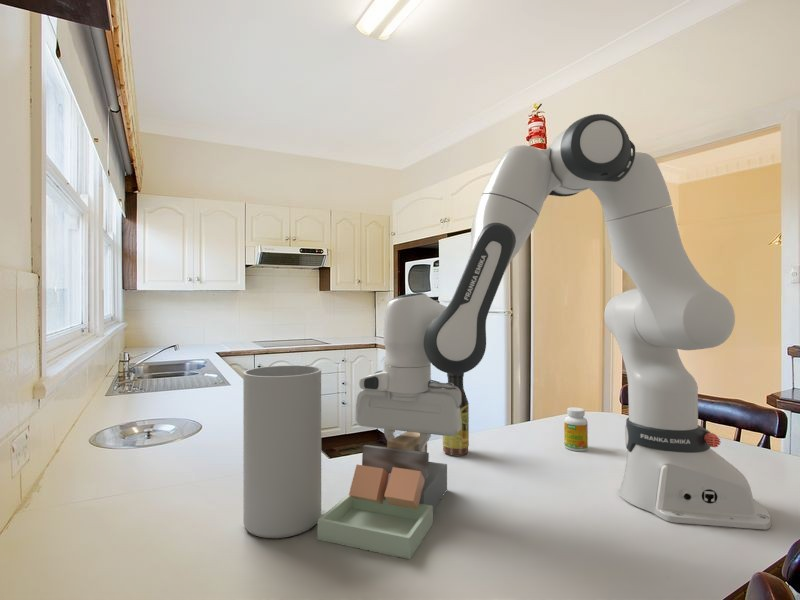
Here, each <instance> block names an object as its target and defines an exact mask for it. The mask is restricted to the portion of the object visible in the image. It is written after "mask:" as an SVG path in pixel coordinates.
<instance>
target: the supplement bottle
mask: <svg viewBox="0 0 800 600" xmlns="http://www.w3.org/2000/svg"><path fill="white" fill-rule="evenodd" d="M585 411H586V410H585V409H584V408H582V407H574V406H572V407H567V410H566V412H567V413H566V414H567V416H566V417H565V418H564V421H563V422H564V424H563V425H564V431H563V432H564V437H563V440H564V448H565V449H567V450H569V451H573V452H586V451H587V450H588V449H589V448H588V445H589V443H588V440H589V439H588V438H589V437H588V434H589V432H588V430H589V428H588V427H589V425H588V422H589V421H588V419H587V418H586V417H585V415H586V413H585Z"/></svg>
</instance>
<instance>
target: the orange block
mask: <svg viewBox="0 0 800 600" xmlns="http://www.w3.org/2000/svg"><path fill="white" fill-rule="evenodd" d="M388 476H389V473H388V472H387V471H386V470H384V469H383V468H376V467H370V466H363V465H362V464H356V465H355V470H354V474H353V477H352V481H351V485H350V489H349V492H348V494H349V495H350V496H351V497H353V498H355V499H358V500H364V501H369V502H374V503H380V504H382V503H383V499H384V494H385V490H386V485H387V480H388Z"/></svg>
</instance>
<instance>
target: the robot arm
mask: <svg viewBox="0 0 800 600" xmlns="http://www.w3.org/2000/svg"><path fill="white" fill-rule="evenodd" d="M586 190H590V191H591V192H592V193H594V195H595V196H596V197H597V199H598V200H599V203H600V206H602V207H601V208H602V213H603V218H604V222H605V226H606V231H607V236H608V239H609V240H608V241H609V243H610V248H611V252H612V256H613V260H614V262H615V264H616V265H617V266H618V267H619V268H620V269H621V270H623V271H624V272H626V274H627V275H628V276H629V278H630V279H631V280H632V282H633V284H634V285H635V287H636V288H631V289H629V290H626V291H622V292H621V293H618V294H616V295H614V296H613V297H611V299H610V300H609V301H608V302H607V303H606V306H605V309H604V312H603V313H604V314H603V318H604V323H605V326H606V327H607V329H608V330H609V332H610V333H611V334H612V335H613V337H614V339H615V340H616V342H617V345H618V348H619V350H620V353H621V357H622V361H623V363H624V369H625V370H626V378H627V389H628V390H627V394H628V395H627V396H628V397H627V398H628V417H627V418H626V419H625V421H626V422H625V427H624V428H625V429H624V430H625V432H624V433H625V435H624V436H625V437H624V438H625V447H626V449H627V453H626V462H625V468H624V472H623V473H624V474H623V478H622V481H621V485H620V488H619V490H618V492H619V493H618V494H619V495H620V496H621V497H622V499H623V500H625V502H627V503H629V504H631V505H633V506H635V507H637V508H640V509H643V510H644V511H647V512H650V513H652V514H654V515H655V516H657V517H659V518H660V519H663V520H664V521H665V522H670V523H678V524H691V525H701V526H702V525H703V526H716V527H729V528H740V529H743V528H744V529H751V530H752V529H753V530H754V529H755V530H768V529H769V528H771V525H772V519H771V515H770V514H769V511H768V510H767V508H765V506H764V505H762V504H761V503H760V502H759V500H758V501H757V500H756V499H755V498H753V492H752V490H751V487H750V484H749V481H748V480H747V478H746V476H745V475H744V474H743V473H742V472H741V471H740V470H739V469H738V468H736V466H734V465H733V464H731V463H730V462H729V461H728V460H726V459H725V458H724V457H722V456H721V454H719V453H717V452H716V451H715V450H713V449H712V448H718V447H719V446H721V438H719V437H718V436H717V435H716V434H715V433H713V432H711V431H710V430H708V429H706V428H705V427H703V426H701V425H699V391H698V390H699V389H698V388H699V387H698V383H697V381H696V379H695V377H694V376H693V375H692V373H690V371H688V369H687V368H686V367H685V366H684V364H683V361H682V359H681V356H680V353H679V350H681V351H696V350H706V349H713V348H716V347H719V346H720V345H722V344H725V342H726V341H727V340H728V339H729V338H730V336H731V335H732V334H733V333H732V332H733V331H734V327H735V324H736V315H735V311H734V307H733V306H732V303H731V301H730V300H729V299H728V298H727V297H726V295H724V294H723V293H721V292H720V291H719V290H716V289H715V288H713V287H712V286H711V285H710V284H709V283H708V282H707V281H706V280H705V279H704V278H703V277H702V276H701V275H700V273H699V272H698V270H697V269H696V267H695V265H694V264H693V262H692V261H691V260H690V258H689V256H688V254H687V252H686V250H685V248H684V246H683V243H682V239H681V235H680V231H679V228H678V224H677V219H676V216H675V212H674V209H673V208H674V207H673V203H672V199H671V195H670V193H669V189H668V186H667V183H666V181H665V178H664V176H663V174H662V171H661V169H660V166H659V165H658V163H657V161H656V160H655V158H654V157H653V156H652V155H650V154H648V153H645V152H641V151H640V152H638V151H637V152H636V146H635V144H634V142H633V141H631V139H630V137H629V134H628V133H627V131H626V129H625V127H623V125H622V124H621V123H620V122H619V121H618V120H617V119H616V118H614V117H613V116H610V115H609V114H604V113H603V114H602V113H597V114H595V113H594V114H589V115H585V116H584V117H581V118H579V119H578V120H575V121H574V122H573V123H571V125H569V126H568V128H566V129H564V130H563V131H562V132H561V133H560V134H559V135H557V136H556V138H554V140H553V141H552V143H550V144H549V146H547V148H546V149H541V148H540V149H539V148H537V147H536V146H531V145H526V144H525V145H524V144H523V145H516V146H512V147H511V148H509V149H507V151H505V152H504V153H503V155H502V157H501V158H500V160H499V161H498V162H497V164H496V166H495V167H494V169H493V170H492V172H491V174H490V176H489V179H488V180H487V182H486V184H485V186H484V188H483V191H482V193H481V194H480V198H479V200H478V203H477V205H476V209H475V212H474V216H473V219H472V223H471V229H470V236H471V238H470V239H471V242H470V243H471V245H470V251H469V256H468V260H467V262H466V265H465V268H464V270H463V273H462V275H461V277H460V280H459V283H458V285H457V286H456V289H455V292H454V293H453V296H452V298H451V300H450V302H449V304H448V305H447V306H446V305H443V304H442V303H440V302H438V301H436V300H435V299H433V298H431V297H430V296H428V295H427V294H426V293H423V292H415V293H407V294H403V295H398V296H395V297H393V298H392V299H390V300H389V302H388V303H387V305H386V308H385V311H384V319H383V321H384V322H383V344H384V347H385V356H384V359H383V370H378V371H376V372H374V373H371V374H367V375H365V376H363V377H361V378H360V379H359V380H358V381H359V382H358V386H359V388H360V390H359V392H358V393H357V395H356V399H355V400H356V402H355V414H354V415H355V416H354V417H355V419H354V420H355V421H356V423H357V424H358V426H359V427H364V428H365V427H366V428H372V429H373V428H375V429H383V435H384V437H385V439H386V441H387V442H388V441H390V440H392V439H394V438H396V436H394V435H395V434H394V433H395V432H396V431H401V432H407V431H408V432H417V433H420V438H421V439H423V440H422V442H421V444H420V445H419V444H417V445H416V446H415V447H414V451H419V452H425V445H426V444H427V445H428V442H429V440H430V438H431V437H432V435H434V436H435V435H437V436H442V437H443V436H455V435H456V434H457V433H458V432H459V431H460V430H461V426H462V425H461V412H460V405H461V402H462V394H461V391H460V389H459V388H458V387H457V386H454V384H452V383H448V382H441V381H431V380H432V377H431V375H432V372H431V371H432V370H431V369H432V366H433V367H435V368H436V369H437V370H439V371H441V372H444V373H446V374H447V373H449V374H461V373H464V374H465V373H468V372H471V370H473V369H474V368H476V367H477V366H478V365H479V364H480V363H481V361H482V360H483V359H484V355H485V353H486V350H487V319H488V315H489V312H490V310H491V306H492V304H493V301H494V299H495V297H496V294H497V292H498V290H499V286H500V284H501V282H502V279H503V277H504V274H505V272H506V270H507V269H508V266H509V265H510V264H511V262H512V261H513V260H514V258H515V257H516V256H517V254H518V253H519V252H520V250H521V249H522V248H523V246H524V245H525V243H526V242H527V240H528V238H529V237H530V235H531V232H532V231H533V229H534V227H535V225H536V223H537V221H538V218H539V216H540V213H541V211H542V208H543V206H544V203H545V201H546V200H547V198H548V197H549V196H554V197H570V196H575V195H578V194H579V193H581V192H584V191H586ZM453 388H456V389H453Z"/></svg>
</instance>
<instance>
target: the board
mask: <svg viewBox="0 0 800 600" xmlns="http://www.w3.org/2000/svg"><path fill="white" fill-rule="evenodd" d="M390 475H391V473H389V476H388V480H387V484H388V481H389V478H390ZM386 488H387V485H386ZM446 490H447V491H448V464H447V463H441V462H433V461H429V465H428V477H427V478H426V479H425V482H424V486H423V490H422V494H421V498H420V502H419V504H425V505H431V506H433V510H434V509H435V508H436V506H437V505H438V504H437V503H439V502H440V501H441V499H442V498H443V497H442V496H444V495H445V494H446V492H447V491H446ZM385 491H386V490H385ZM445 491H446V492H445ZM444 493H445V494H444ZM443 494H444V495H443ZM441 497H442V498H441ZM384 498H385V497H384ZM439 500H440V501H439ZM436 504H437V505H436ZM434 507H435V508H434Z"/></svg>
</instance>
